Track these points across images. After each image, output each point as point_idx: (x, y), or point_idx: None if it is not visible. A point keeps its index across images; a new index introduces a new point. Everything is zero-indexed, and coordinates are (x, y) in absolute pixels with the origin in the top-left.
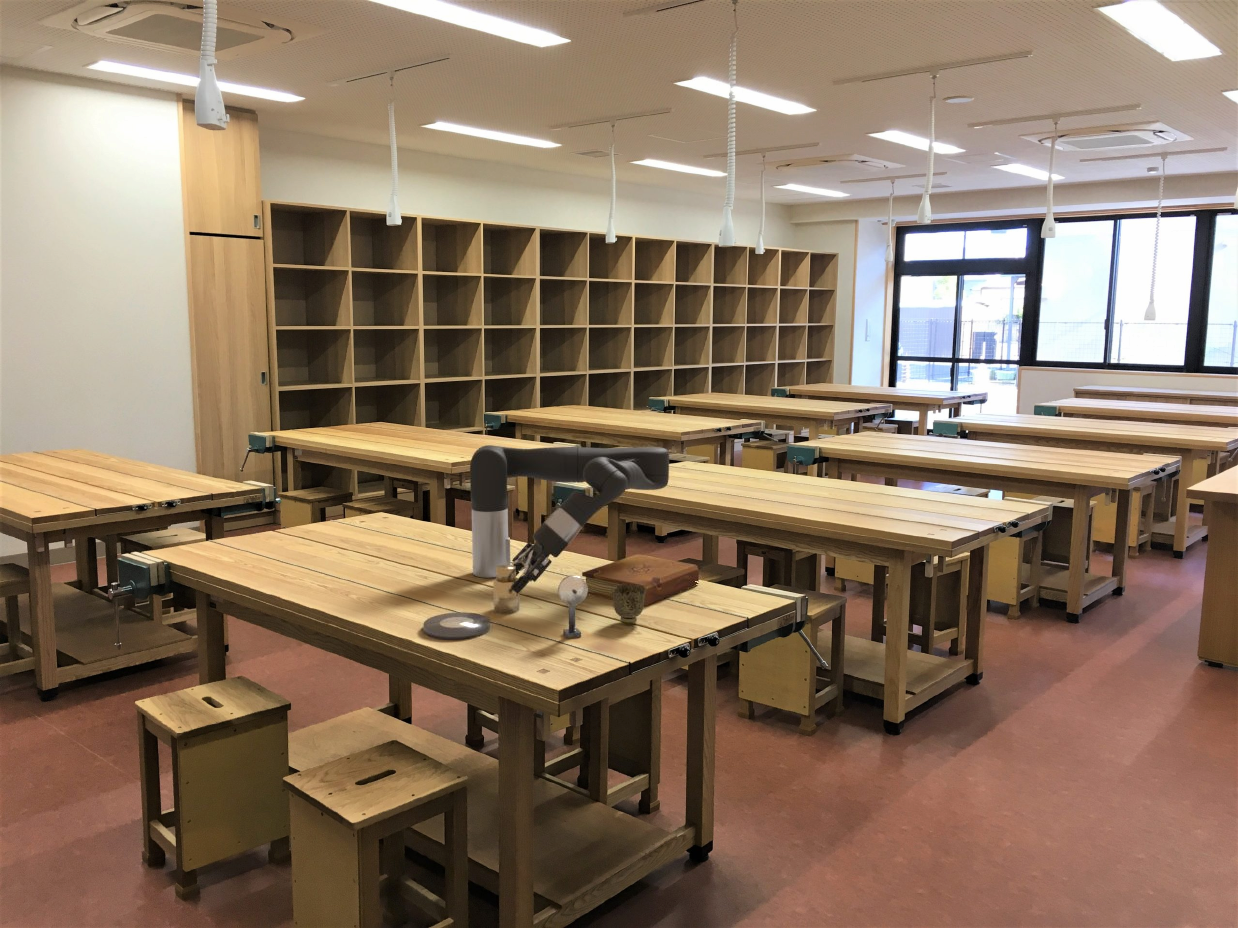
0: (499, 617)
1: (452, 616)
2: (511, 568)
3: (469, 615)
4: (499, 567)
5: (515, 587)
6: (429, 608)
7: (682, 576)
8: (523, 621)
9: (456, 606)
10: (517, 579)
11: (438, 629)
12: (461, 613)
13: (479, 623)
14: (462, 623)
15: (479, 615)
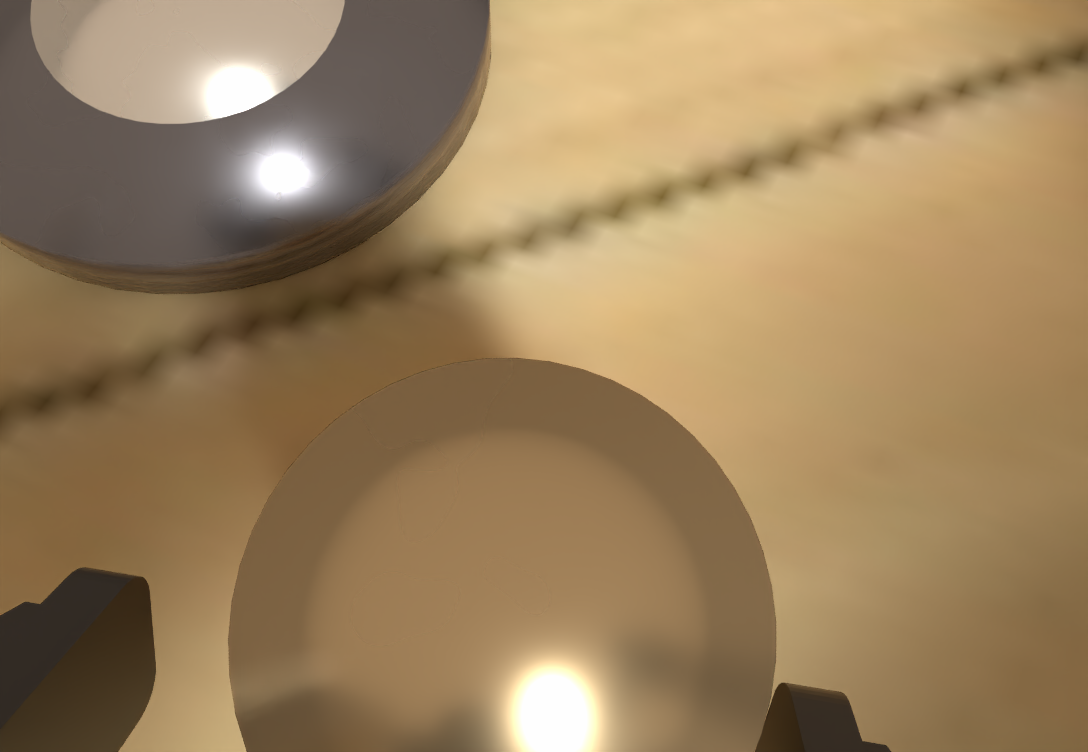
0: None
1: (371, 16)
2: (293, 700)
3: (309, 141)
4: (556, 445)
5: (11, 617)
6: (878, 39)
7: None
8: None
9: (852, 239)
10: (11, 707)
11: None
12: (412, 103)
13: (21, 134)
14: (123, 19)
15: (255, 218)
